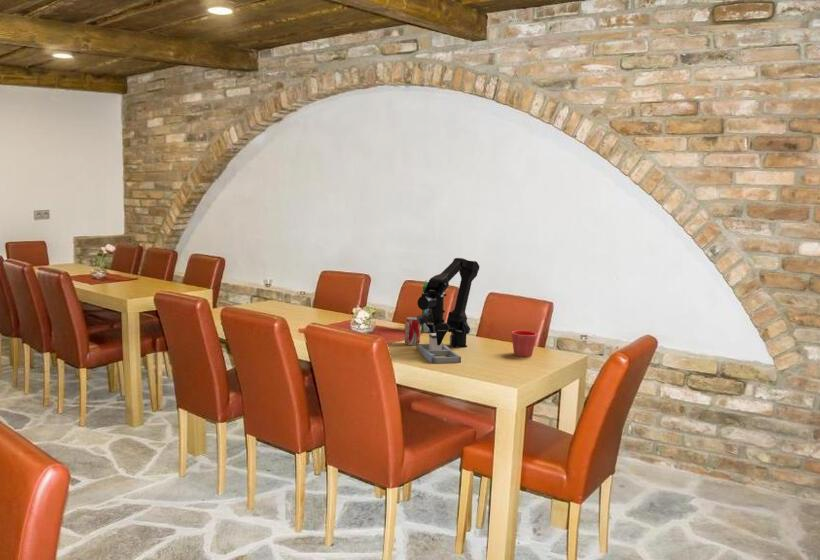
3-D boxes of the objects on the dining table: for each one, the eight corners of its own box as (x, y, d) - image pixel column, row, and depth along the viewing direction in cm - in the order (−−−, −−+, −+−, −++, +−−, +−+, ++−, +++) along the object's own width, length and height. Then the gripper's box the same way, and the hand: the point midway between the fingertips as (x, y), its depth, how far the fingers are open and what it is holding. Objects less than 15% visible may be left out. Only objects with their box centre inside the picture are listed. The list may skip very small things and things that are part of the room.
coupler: (438, 351, 305) (439, 333, 304) (441, 353, 300) (442, 335, 299) (428, 351, 303) (429, 333, 302) (431, 353, 299) (432, 335, 298)
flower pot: (538, 353, 305) (539, 331, 304) (531, 358, 295) (533, 336, 294) (514, 350, 309) (515, 329, 308) (507, 355, 299) (508, 333, 298)
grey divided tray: (442, 348, 310) (442, 341, 309) (460, 362, 285) (461, 354, 284) (415, 349, 307) (415, 341, 306) (431, 363, 282) (431, 355, 281)
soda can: (418, 346, 313) (419, 320, 311) (403, 345, 314) (403, 319, 312) (421, 343, 319) (422, 317, 318) (406, 342, 321) (406, 316, 319)
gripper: (413, 303, 306) (412, 338, 308) (424, 311, 288) (423, 348, 290) (437, 303, 309) (436, 338, 311) (450, 310, 291) (448, 347, 293)
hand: (435, 342), depth 301 cm, fingers open, 9 cm apart
